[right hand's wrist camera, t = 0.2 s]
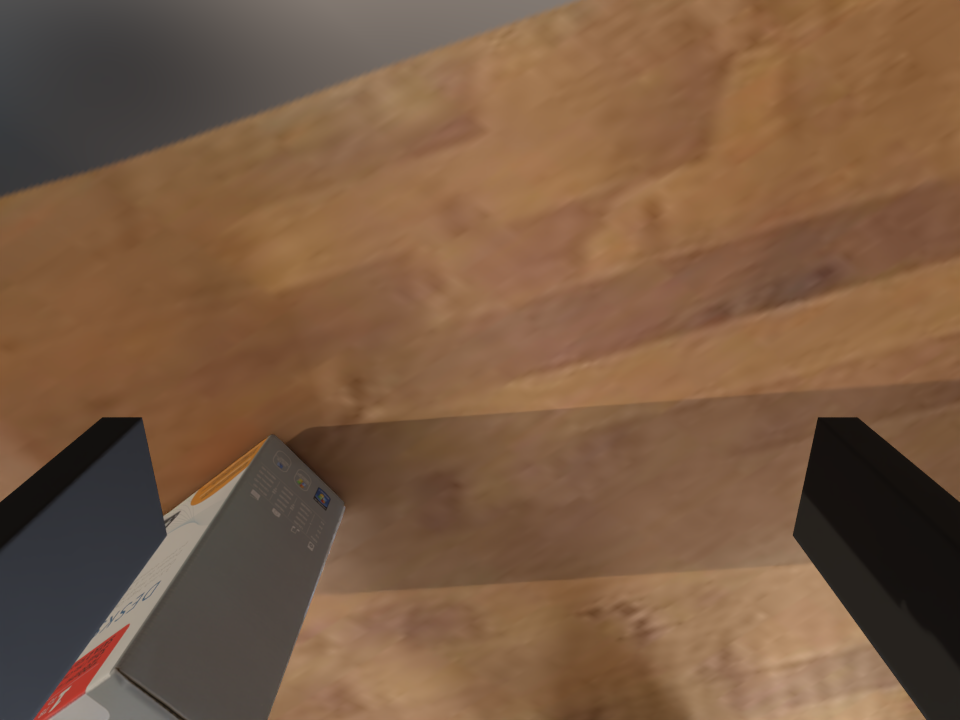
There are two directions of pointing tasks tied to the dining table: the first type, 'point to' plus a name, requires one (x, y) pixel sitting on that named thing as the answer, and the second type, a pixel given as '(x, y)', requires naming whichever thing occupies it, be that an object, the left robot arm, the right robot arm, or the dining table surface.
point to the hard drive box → (212, 601)
